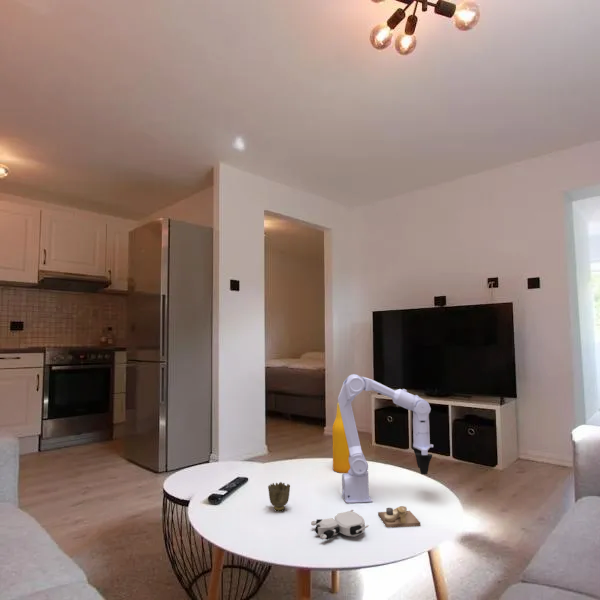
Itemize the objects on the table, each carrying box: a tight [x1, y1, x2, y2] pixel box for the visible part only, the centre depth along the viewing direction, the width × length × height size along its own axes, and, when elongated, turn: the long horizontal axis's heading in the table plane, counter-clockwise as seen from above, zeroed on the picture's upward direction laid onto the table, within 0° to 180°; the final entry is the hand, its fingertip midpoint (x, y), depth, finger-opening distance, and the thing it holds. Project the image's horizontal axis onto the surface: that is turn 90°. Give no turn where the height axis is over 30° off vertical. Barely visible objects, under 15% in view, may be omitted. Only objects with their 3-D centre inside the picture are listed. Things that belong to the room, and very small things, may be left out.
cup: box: [267, 481, 291, 512], centre depth 144 cm, size 8×7×8 cm
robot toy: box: [310, 509, 370, 540], centre depth 126 cm, size 12×4×15 cm
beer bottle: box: [331, 402, 350, 474], centre depth 189 cm, size 9×9×29 cm
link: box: [385, 505, 408, 522], centre depth 135 cm, size 10×3×2 cm, turn 135°
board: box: [377, 506, 421, 528], centre depth 134 cm, size 11×9×4 cm
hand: (422, 470), depth 153 cm, fingers open, 7 cm apart
